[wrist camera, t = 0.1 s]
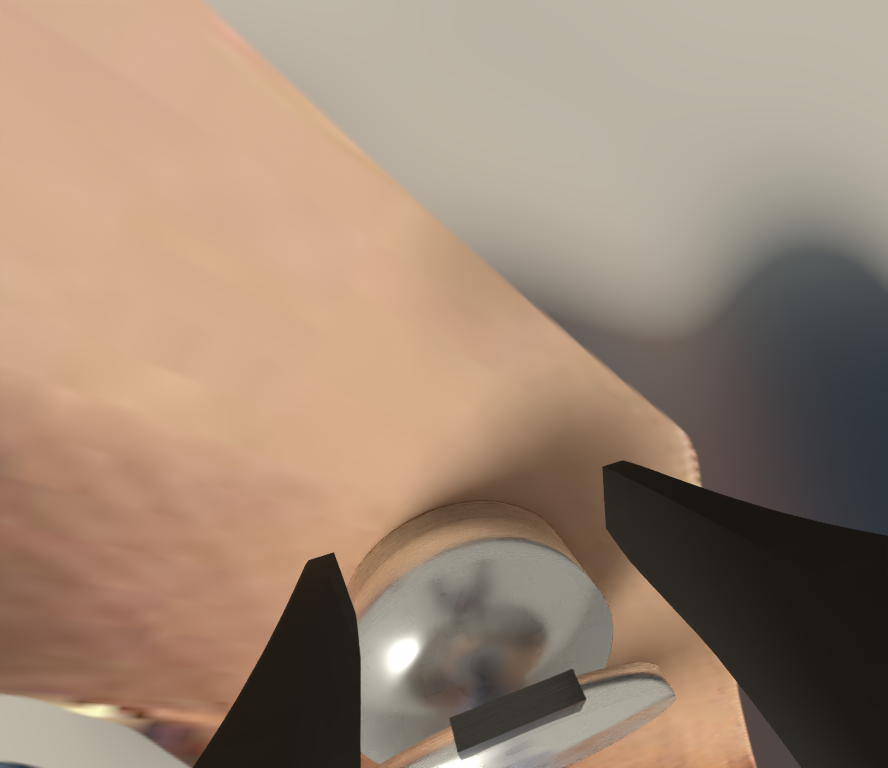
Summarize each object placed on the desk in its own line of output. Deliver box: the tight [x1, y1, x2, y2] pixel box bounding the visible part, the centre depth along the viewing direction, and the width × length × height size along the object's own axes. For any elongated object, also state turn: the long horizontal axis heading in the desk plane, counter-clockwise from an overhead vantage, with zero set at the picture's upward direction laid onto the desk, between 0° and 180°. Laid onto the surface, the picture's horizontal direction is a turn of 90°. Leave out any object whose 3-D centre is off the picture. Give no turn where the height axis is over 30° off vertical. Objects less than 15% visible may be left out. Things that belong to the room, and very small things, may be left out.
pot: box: [347, 501, 613, 764], centre depth 22 cm, size 15×14×4 cm
